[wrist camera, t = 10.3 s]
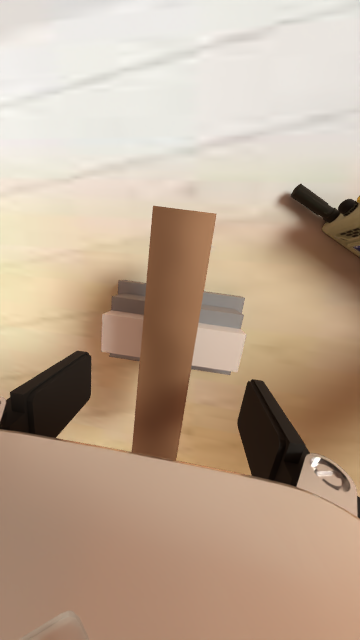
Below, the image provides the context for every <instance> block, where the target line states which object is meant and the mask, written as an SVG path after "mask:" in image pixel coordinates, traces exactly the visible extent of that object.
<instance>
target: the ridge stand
mask: <svg viewBox="0 0 360 640" xmlns="http://www.w3.org/2000/svg"><path fill="white" fill-rule="evenodd" d="M145 294H146V283H141V282H134V281H127V280H119V282H118V295H116V296H112V309H111V311H108V312H106V313H103V314H102V343H101V352H107V353H110V356H109V357H116V358H122V359H129V360H135V361H140V352H141V341H142V329H143V318H144V306H145ZM244 300H245V298H243V297H241V296H234V295H227V294H219V293H212V292H205V291H204V293H203V299H202V305H201V311H200V317H199V323H198V329H197V335H196V341H195V347H194V353H193V360H192V366H191V369H194V370H201V371H207V372H214V373H220V374H227V375H230V374H231V371H232V372H238V368H239V364H240V360H241V356H242V351H243V347H244V343H245V339H246V334H245V333H244V332H243V331H242V330H241V325H242V321H243V316H244V315H243V314H242V309H243V305H244Z"/></svg>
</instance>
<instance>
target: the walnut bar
mask: <svg viewBox="0 0 360 640" xmlns="http://www.w3.org/2000/svg"><path fill="white" fill-rule="evenodd" d="M215 219H216V214H214V213H206V212H198V211H190V210H182V209H174V208H166V207H158V206H153V213H152V225H151V236H150V248H149V260H148V271H147V283H146V294H145V306H144V318H143V329H142V341H141V352H140V364H139V376H138V387H137V399H136V410H135V422H134V434H133V445H132V452H134V453H139V454H144V455H149V456H155V457H160V458H165V459H170V460H175V461H176V457H177V451H178V445H179V439H180V433H181V427H182V420H183V414H184V408H185V402H186V396H187V390H188V384H189V378H190V372H191V366H192V360H193V353H194V347H195V341H196V335H197V329H198V323H199V317H200V311H201V305H202V299H203V293H204V286H205V280H206V274H207V268H208V262H209V256H210V250H211V244H212V238H213V232H214V226H215Z"/></svg>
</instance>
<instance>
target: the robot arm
mask: <svg viewBox="0 0 360 640" xmlns="http://www.w3.org/2000/svg"><path fill="white" fill-rule="evenodd" d="M90 395H91V356H90V355H89V353H88V352H82V351H76V352H75V353H73V354H71V355H70V356H68V357H66V358H65V359H63V360H62V361H60V362H58V363H57V364H55V365H53V366H52V367H50V368H49V369H47V370H45V371H44V372H42V373H40V374H39V375H37V376H36V377H34V378H32V379H31V380H29V381H28V382H26V383H24V384H23V385H21V386H19V387H18V388H16V389H15V390H13V391H11V392H10V398H9V399H7V400H6V399H5V398H3V397H0V640H360V498H359V497H358V496H357V490H356V486H355V484H354V482H353V480H352V479H351V478H350V476H349V475H348V474H347V473H346V472H345V471H344V470H343V469H342V468H341V467H340V466H339V465H337V464H336V463H335V462H333V461H332V460H330V459H328V458H326V457H325V456H322V455H319V454H315V453H310V452H309V451H308V449H307V448H306V445H305V444H304V442H303V441H302V439H301V438H300V436H299V435H298V433H297V431H296V430H295V428H294V427H293V425H292V424H291V422H290V421H289V419H288V418H287V416H286V415H285V413H284V412H283V410H282V409H281V407H280V406H279V404H278V403H277V401H276V400H275V398H274V397H273V395H272V394H271V392H270V391H269V389H268V388H267V386H266V385H265V383H264V382H263V381H260V380H254V379H252V380H251V382H250V381H248V383H247V386H246V390H245V394H244V398H243V402H242V405H241V409H240V413H239V417H238V429H239V432H240V436H241V439H242V443H243V446H244V450H245V453H246V457H247V460H248V464H249V467H250V470H251V474H252V476H250V475H245V474H240V473H236V472H231V471H226V470H221V469H216V468H211V467H206V466H201V465H196V464H191V463H185V462H180V461H175V460H170V459H165V458H160V457H155V456H149V455H144V454H139V453H134V452H128V451H123V450H118V449H112V448H107V447H102V446H96V445H91V444H85V443H80V442H74V441H69V440H63V439H58V438H56V437H57V436H58V435H59V433H60V432H61V431H62V430H63V429H64V428H65V427H66V425H67V424H68V423H69V422H70V421H71V420H72V419H73V417H74V416H75V415H76V414H77V413H78V412H79V411H80V409H81V408H82V407H83V406H84V405H85V404H86V402H87V401H88V400H89V398H90Z"/></svg>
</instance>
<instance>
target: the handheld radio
mask: <svg viewBox="0 0 360 640" xmlns="http://www.w3.org/2000/svg"><path fill="white" fill-rule="evenodd" d="M291 197H293V198H294V199H295V200H297V201H298V202H300V203H301V204H303V205H304V206H305V207H307V208H308V209H310V210H311V211H313V212H314V213H315V214H317V215H320V216H322V217H323V219H324V220H325V221H327V222H326V223H325V225H324V226H323V227H322V231H323V232H324V233H325V234H327V235H328V236H330V237H331V238H333V239H334V240H336V241H337V242H338V243H340V244H341V245H343V246H344V247H346V248H347V249H348V250H350V251H351V252H353V253H354V254H356V255H357V256H358V257H360V196H359V197H358V199H357V202H356V201H354V200H352V199H347V200H345V201H343V202H342V203H341V204H340V205H339V207H338V210H337V209H336V208H332V207H331V206H329V205H328V203H327V202H325V201H324V200H323V199H321V198H320V197H318V196H317V195H316V194H314V193H313V192H311V191H310V190H309V189H307V188H306V187H305V186H303V185H302V184H299V185H298V186H297V187H296V188H295V189H294V190H293V192H292V194H291Z"/></svg>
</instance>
